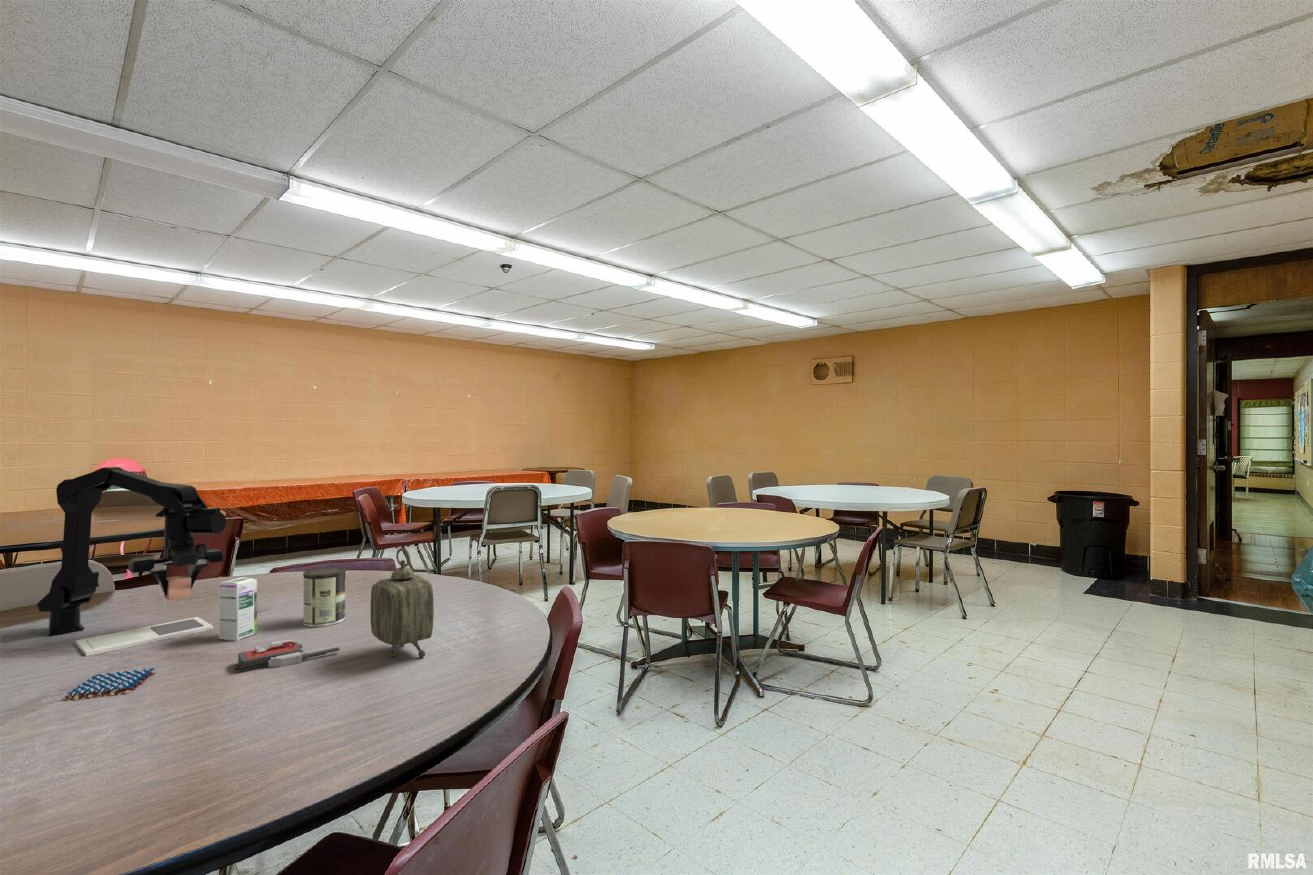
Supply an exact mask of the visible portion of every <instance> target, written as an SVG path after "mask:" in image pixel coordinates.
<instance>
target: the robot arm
mask: <svg viewBox="0 0 1313 875" xmlns="http://www.w3.org/2000/svg"><path fill="white" fill-rule="evenodd" d="M113 486H115V487H117V488H121V489H123V490H127V491H130V492H133V493H136V494H139V495H142V496H146V497H148V498H150V499H151V500H152V501H153V502H154V503H155V504H156V505H159V506H161V507H163V508H162V509H160V511H159V512H156V514H155V517H157V518H164V530H163V531H164V536H163V554H162V555H163V557H161V558H157V559H156V558H152V557H150V556H143V557H136V558H130V560H129V561H128V563H127V566H128V567H127V568H128V569H127V570H128V571H130V572H131V573H133V574H134V573H136V574H137V573H143V572H144V573H146V572H148V573H149V574H151V575H153V576H154V577H155V578H156V580H157V582H158V584H159V586H160V588H161V591H162V593H163V596H164V595H167V590H168V589H167V580H166V578H167V573H168V571H167V569H165V566H169V565H170V566H171V565H173V566H174V567H183V566H187V565H188V570H187V576H189V577H191V590H192V588H193V587H194V584H195V582H196V580H197V577H198V575H199V574H200V572H201V571H202V570H203V569H204V568H205V567H208V566H209V563H219V562H224V561H225V552H224V551H223V550H220V549H217V548H213V549H208V545H207V544H206V543H199V544H196V545H195V543H194V536H193V534H195V535H200V534H201V535H206V534H207V535H219V534H221V533H222V532H223V531H224V530H225V528H226V525H227V519H226V516H225V515H224V513H222V512H221V508H220V507H213V508H208V506H207V505H206V503H205V502H204V501H203V499H202V498H201V497H200V495H199V494H198V491H197V488H196V487H194V486H192V485H190V484H181V483H173V482H172V483H171V482H163V481H159V480H157V479H154V478H150V477H147V476H144V475H141V474H138V473H135V472H132V471H128V470H125V469H124V468H122V467H119V466H106V467H101V468H99V469H97V470H94V471H92V472H89V473H87V474H86V473H85V474H83V475H79V476H77V477H74V478H68V479H64V480H62V481H61V482H60V483H58V484H57V486H56V488H55V491H56V492H55V493H56V499H57V504H58V506H60V508H61V509H62V512H64V524H63V539H62V551H61V552H62V553H61V555H62V556H61V565H60V566H61V567H60V569H59V571H58V572H57V573H56V575H55V576H54V577H53V579H52V581H51V585H50V588H49V592H48V593H47V594H46V595H45V596H44V597H43V598H42V599H41V600H39V601H38V602H37V605H36V606H37V608H38V610H39V612H48V628H44V632H45V633H46V634H47V636H49V637H50V636H56V635H61V634H66V633H71V632H78V631H81V630H82V631H83V630H84V629H85V626H84V625H83V624H82V623H81V612H82V611H81V610H82V608H81V606H82V605H83V604H86V603H87V604H88V603H90V601H91V599H92V596H93V595H94V594H95V593H96V591H97V588H98V587H100V585H99V577H100V573H99V571H93V570H92V569H91V567H90V565H89V561H90V545H91V544H90V543H91V531H92V530H91V529H92V515H93V511H94V509H95V508H96V507H97V505H98V504H99V503H100V502H101V499H102V495H103V494H102V493H103V492H105V491H106V490H107V491H108V490H109V489H111V488H113ZM207 562H209V563H207Z"/></svg>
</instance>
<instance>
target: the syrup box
mask: <svg viewBox="0 0 1313 875" xmlns="http://www.w3.org/2000/svg"><path fill="white" fill-rule="evenodd" d="M256 634H258V580H257V578H255V577H250V576H246V577H236V578H234V579H229V580H226V581H222V582H219V583H218V639H220V640H222V639H225V640H224V641H232V640H233V642H234V641H235V642H238V641H240V640H243V639H245V638H248V637H250V636H254V635H256Z"/></svg>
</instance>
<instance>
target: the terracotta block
mask: <svg viewBox="0 0 1313 875" xmlns="http://www.w3.org/2000/svg"><path fill="white" fill-rule="evenodd" d="M166 580H167V589H168V590H167V595H164V594H163V598H165V599H166V600H168V601H172V600H176V599H177V600H178V599H184V598H185V599H186V598H189V597H191V596H192V589H191V577H189V576H188V574H182V575H177V576H169V577H166Z"/></svg>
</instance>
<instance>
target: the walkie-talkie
mask: <svg viewBox="0 0 1313 875" xmlns="http://www.w3.org/2000/svg"><path fill="white" fill-rule="evenodd" d="M339 651H340V647H332V648H328V649H324V650H323V649H322V650H319V651H312V652H309V653H308V652H307V653H306V652H305V653H304V648H303V644H302V643H299V642H298V641H294V640H293V639H291V638H287V639H283V640H277V641H271V642H269V643H268V644H267V645H266V646H264V647H262V648H261V647H260V646H255V648H254V649H252V650H248V651H247V650H246V651H243V652H238V654H237V658H238V660H237V663H238V664H237V665H235V666H234V671H236V672H237V671H240V672H241V673H242V672H243V673H245V672H249V671H254V670H258V669H263V668H268V667H270V668H283V667H286V666H291V665H296V664H297V665H298V664H302V661H305V660H308V659H311V658H315V657H319V656H320V657H321V656H324V655H327V654H329V653H334V652H339Z"/></svg>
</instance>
